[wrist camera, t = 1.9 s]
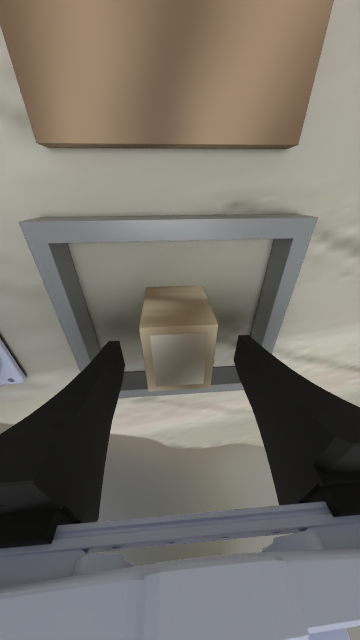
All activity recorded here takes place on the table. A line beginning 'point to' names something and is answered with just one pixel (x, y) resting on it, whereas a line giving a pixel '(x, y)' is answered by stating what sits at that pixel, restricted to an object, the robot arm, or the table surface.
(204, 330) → the maple block
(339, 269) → the table surface
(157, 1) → the walnut board
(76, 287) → the grey bin
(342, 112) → the table surface
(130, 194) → the table surface
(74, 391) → the robot arm
